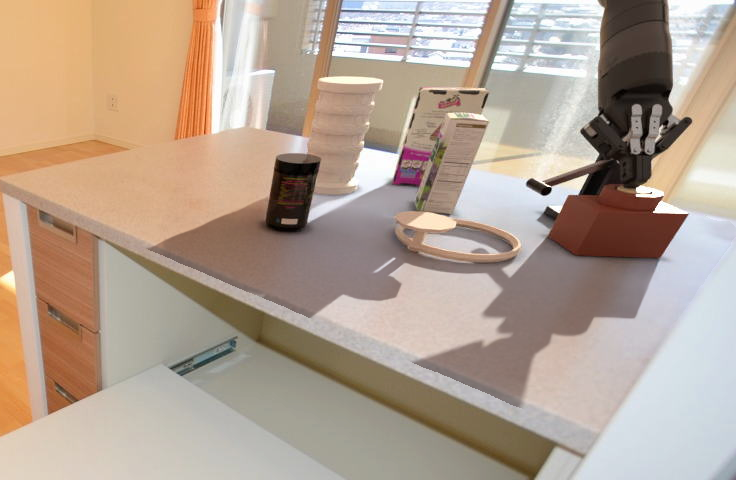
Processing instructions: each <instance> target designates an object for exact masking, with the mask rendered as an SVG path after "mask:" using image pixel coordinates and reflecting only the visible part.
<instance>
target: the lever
mask: <svg viewBox="0 0 736 480" xmlns="http://www.w3.org/2000/svg"><path fill="white" fill-rule="evenodd" d="M614 161H615V159H610V160H605V159H604V160H601V161H598V162H596V163H595V162H593V163H590V164H587V165H584V166H581V167H579V168H576V169H573V170H570V171H567V172H564V173H561V174H558V175H555V176H552V177H549V178H547V179H544V180H539V179H537V178H536V177H531V178H529V179H527V180H526V182H525V187H527V188H528V189H530V190H532V191H533V192H535V193H537V194H539V195H541V196H543V197H546V196H549V195H550V194H551V193H552V191H553V187H555V186H558V185H561V184H564V183H566V182H570V181H572V180H575V179H578V178H581V177H584V176H586V175H587V176H588V175H589V174H590V173H593V172H596V171H599V170H601V169H604V168H607V167H611V166H612V164H613V162H614Z"/></svg>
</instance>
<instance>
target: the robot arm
mask: <svg viewBox="0 0 736 480" xmlns="http://www.w3.org/2000/svg"><path fill="white" fill-rule="evenodd" d="M597 2H598V5H600V6H601V7H602V8H603V14H602V17H601V21H600V28H599V58H598V59H599V60H598V63H597V111H598V114H597V116H595V117H593V118H592V119H591V120H590V121H588V122H587V123H586V124H585V125H584V126H583V127H582V128H581V129H580V130H579V133H580V135H581V136H582V137H583V138H584V139H585V140H586V141H587V142H588V143H589V145H590V146H592V148H594V150H595V151H596V152H597V153H598V155H599V154H600V155H601V156H602V157H603V158H604V159H605V160H610V159H615V160H616V161H617V163H618V164H620V181H621V183H622V184H623V187H624V188H638V187H640V186H643V185H645V184H646V183H647V182H648V180H651V177H652V174H653V173H652V161H653V160H652V159H655V158H656V157H658V156H659V155H661V154H663V153H664V152H666V151H667V150H668V149H669V148H670V147H671V146H673V144H674V143H675V142H676V141H677V140H678V139H679V137H681V135H682V134H683V133H684V132H685V131H686V130H688V128H689V127H690V126H691V125H692V124H693V119H692V118H691V117H690V116H686V117H683V118H682V119H680V118H679V117H677V116H675V115H673V112H674V108H673V106H672V104H671V102H670V95H671V93H672V91H673V88H674V64H673V63H674V62H673V60H674V59H673V40H672V35H671V31H670V9H669V8H670V7H669V0H597ZM661 127H662V128H661ZM660 128H661V130H660ZM658 136H659V138H658ZM657 138H658V139H657ZM656 139H657V140H656ZM606 141H607V142H608V143H609V144H610V145H611V146H612V148H610V147H609V146H608V145H607V144H606V143H605V142H606ZM651 160H652V161H651Z"/></svg>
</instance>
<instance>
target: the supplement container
mask: <svg viewBox="0 0 736 480" xmlns="http://www.w3.org/2000/svg"><path fill="white" fill-rule="evenodd" d="M320 163H321V158H320V157H318V156H315V155H310V154H307V153H299V152H298V153H297V152H291V153H290V152H287V153H281V154H277V155H276V156H275V161H274V167H273V173H272V178H271V186H270V190H269V196H268V201H267V208H266V213H265V220H264V222H265V225H266V227H267V228H269V229H270V230H273V231H275V232H281V233H296V232H299V231H302V230H304V228H306V227H307V225H308V222H309V216H310V213H311V212H310V211H311V208H312V202H313V198H314V194H315V193H314V189H315V185H316V180H317V176H318V172H319V168H320Z"/></svg>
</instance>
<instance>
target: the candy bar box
mask: <svg viewBox="0 0 736 480" xmlns="http://www.w3.org/2000/svg"><path fill="white" fill-rule="evenodd" d="M489 94H490V91H489V89H488V88H487V87H486V88H485V87H484V88H483V87H441V86H440V87H439V86H438V87H435V86H433V87H429V86H428V87H427V86H425V87H424V86H421V87H419V88H418V91H417V95H416V98H415V101H414V105H413V107H412V112H411V115H410V118H409V121H408V125H407V129H406V132H405V135H404V139H403V142H402V145H401V149H400V152H399V155H398V158H397V162H396V166H395V170H394V172H393V177H392V185H394V186H405V187H418V188H419V187H420V184H421V181H422V178H423V176H424V173H425V170H426V167H427V164H428V162H429V159H430V156H431V153H432V151H433V148H434V145H435V142H436V140H437V137H438V134H439V132H440V129H441V126H442V123H443V120H444V117H445V115H446V113H472V114H478V115H483V111H484V108H485V105H486V103H487V101H488V99H489V98H488V97H489Z"/></svg>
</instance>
